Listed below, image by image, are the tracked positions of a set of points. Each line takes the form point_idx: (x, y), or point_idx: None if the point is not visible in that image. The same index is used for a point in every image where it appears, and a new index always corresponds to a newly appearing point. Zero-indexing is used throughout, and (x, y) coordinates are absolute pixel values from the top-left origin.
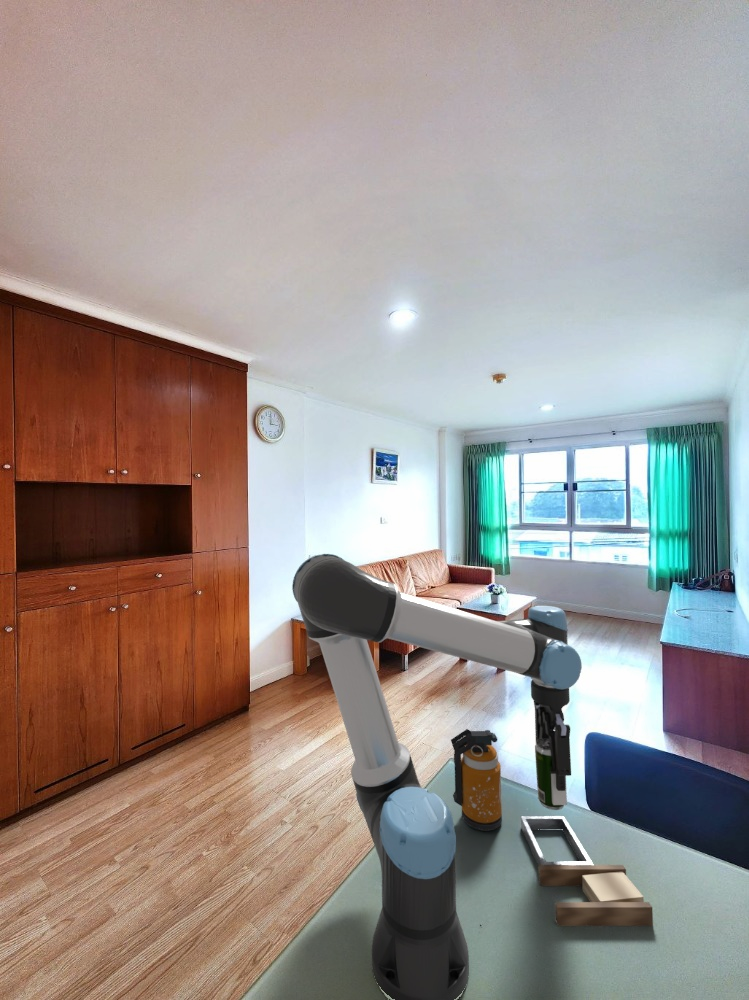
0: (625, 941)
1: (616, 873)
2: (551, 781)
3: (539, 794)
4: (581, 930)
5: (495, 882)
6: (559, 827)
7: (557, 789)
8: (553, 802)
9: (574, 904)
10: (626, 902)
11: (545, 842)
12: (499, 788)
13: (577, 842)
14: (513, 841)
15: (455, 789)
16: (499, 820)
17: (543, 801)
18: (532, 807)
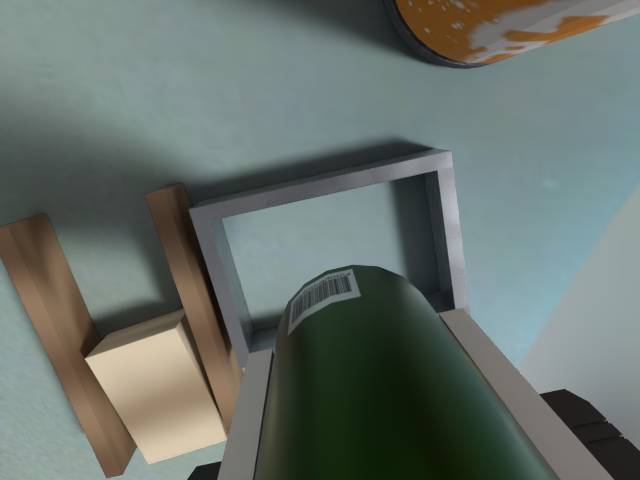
0: (54, 372)
1: (216, 422)
2: (250, 461)
3: (327, 286)
4: None
5: (129, 22)
6: (442, 287)
7: (209, 466)
8: (246, 363)
9: (25, 285)
10: (97, 424)
11: (371, 228)
12: (502, 17)
13: None
14: (355, 110)
15: None
16: (430, 51)
17: (299, 296)
18: (558, 205)
